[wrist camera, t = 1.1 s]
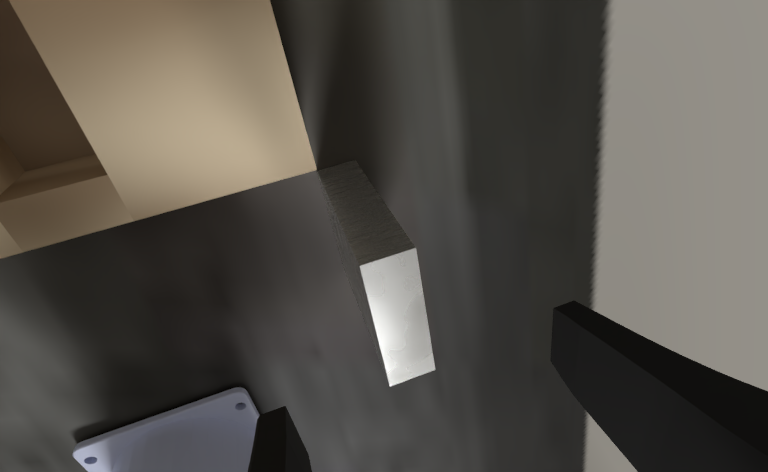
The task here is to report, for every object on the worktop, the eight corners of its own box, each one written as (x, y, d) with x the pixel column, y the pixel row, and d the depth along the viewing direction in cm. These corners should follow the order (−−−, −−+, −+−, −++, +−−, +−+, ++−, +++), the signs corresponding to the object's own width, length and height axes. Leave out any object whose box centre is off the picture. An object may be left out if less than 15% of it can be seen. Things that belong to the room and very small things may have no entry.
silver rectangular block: (377, 258, 20) (435, 369, 14) (344, 269, 20) (389, 386, 14) (354, 160, 18) (415, 247, 12) (316, 170, 17) (359, 265, 12)
